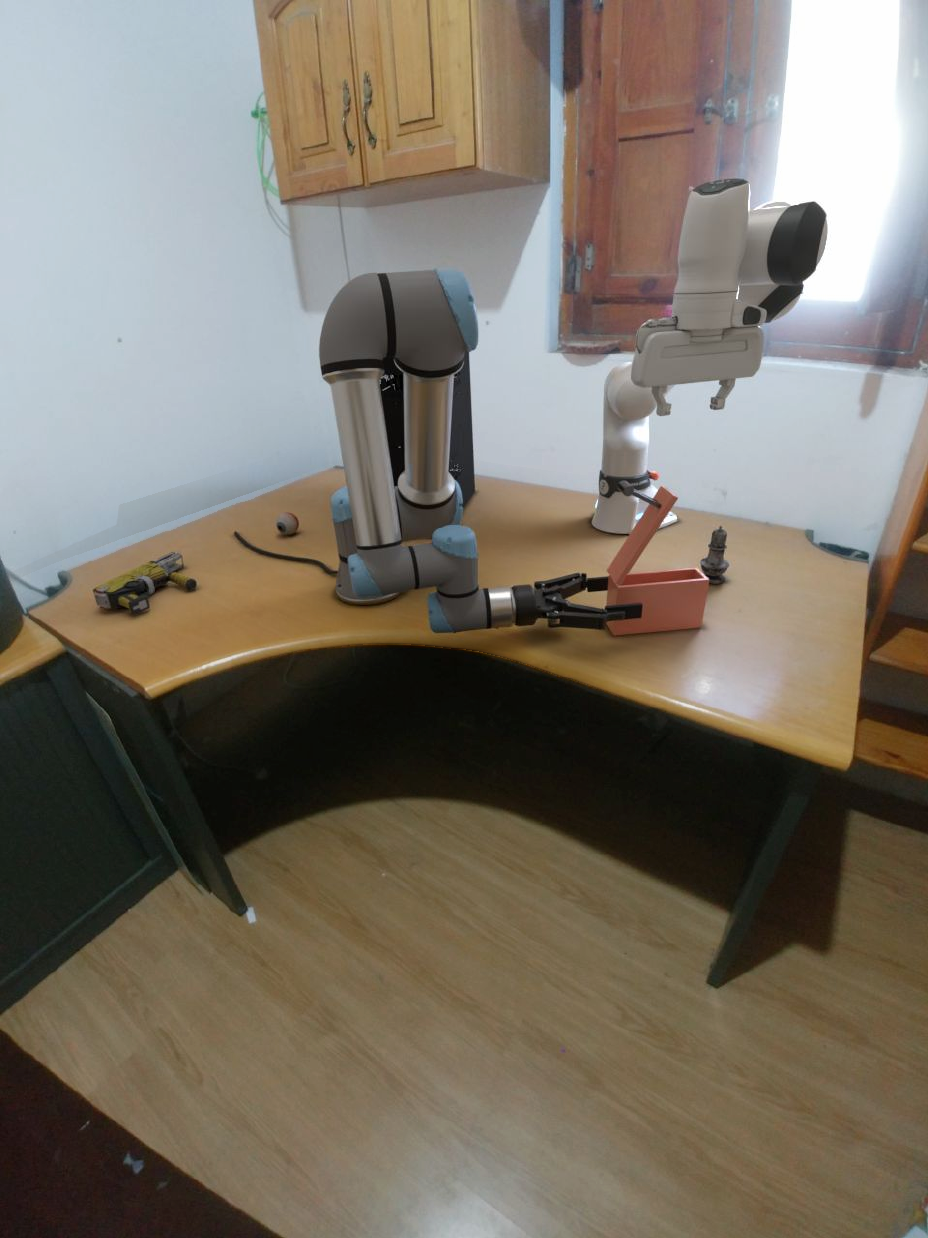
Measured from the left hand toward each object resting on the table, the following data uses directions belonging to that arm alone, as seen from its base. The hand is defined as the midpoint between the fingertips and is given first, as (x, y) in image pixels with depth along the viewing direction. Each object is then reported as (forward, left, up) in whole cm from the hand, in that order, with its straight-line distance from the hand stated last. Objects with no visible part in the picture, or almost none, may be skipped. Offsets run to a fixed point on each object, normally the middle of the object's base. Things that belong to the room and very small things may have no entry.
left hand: (630, 595), depth 111 cm
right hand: (+6, +3, +32) cm, 33 cm away
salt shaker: (+15, +25, -7) cm, 30 cm away
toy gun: (-103, -11, -7) cm, 104 cm away
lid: (+1, +1, +11) cm, 12 cm away
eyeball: (-93, +26, -7) cm, 97 cm away
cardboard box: (-63, +51, -7) cm, 81 cm away
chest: (+4, +2, -7) cm, 8 cm away
